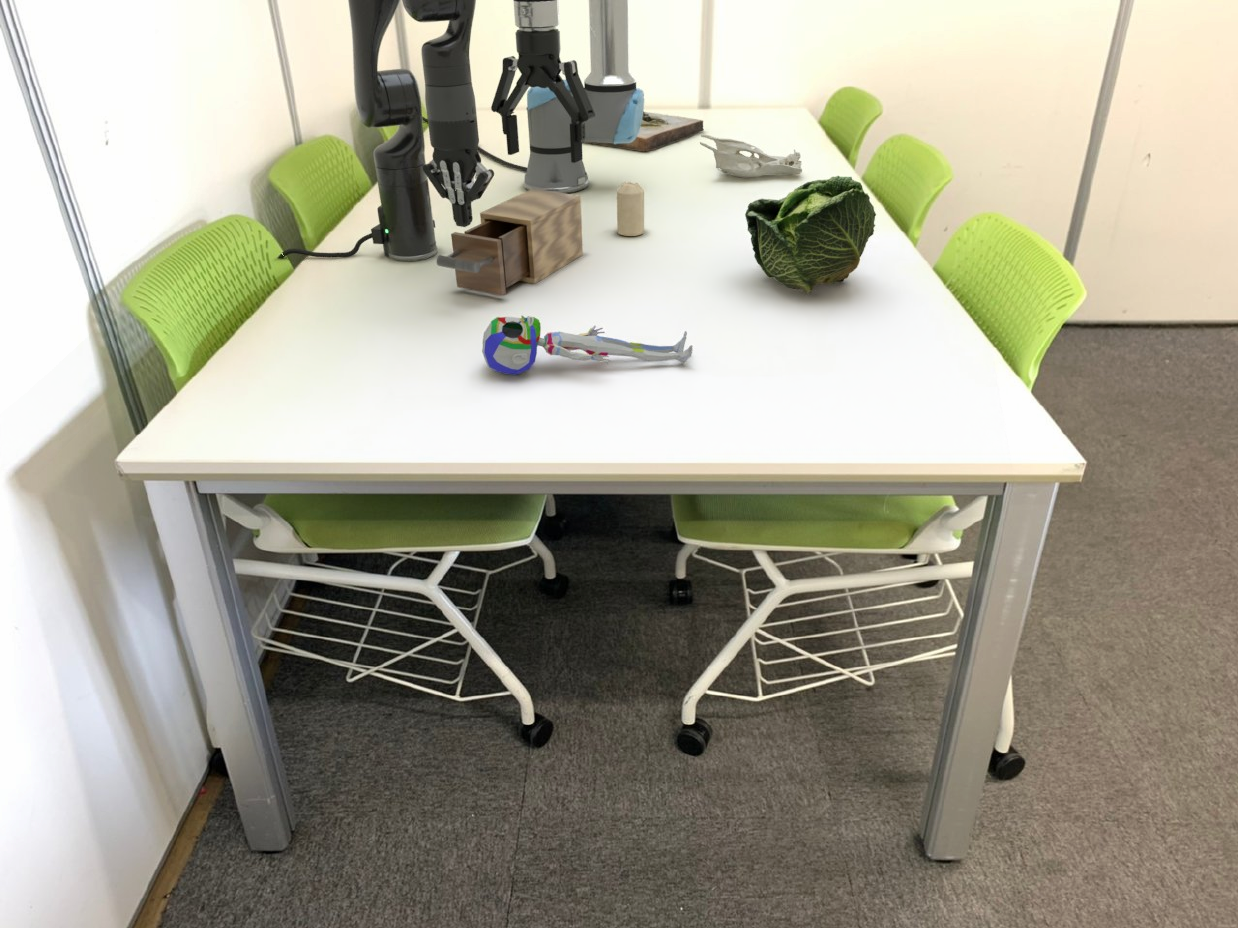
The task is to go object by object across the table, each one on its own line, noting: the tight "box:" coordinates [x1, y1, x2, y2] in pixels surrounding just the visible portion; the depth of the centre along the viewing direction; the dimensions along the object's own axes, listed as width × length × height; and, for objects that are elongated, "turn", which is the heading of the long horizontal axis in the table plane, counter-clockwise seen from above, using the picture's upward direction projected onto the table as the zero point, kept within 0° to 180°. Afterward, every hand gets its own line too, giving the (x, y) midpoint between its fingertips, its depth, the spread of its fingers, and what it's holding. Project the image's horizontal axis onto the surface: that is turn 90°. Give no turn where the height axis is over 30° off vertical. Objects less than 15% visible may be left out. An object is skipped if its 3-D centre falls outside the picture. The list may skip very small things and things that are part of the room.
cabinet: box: [479, 189, 584, 285], centre depth 166 cm, size 17×11×11 cm, turn 152°
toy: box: [481, 315, 694, 376], centre depth 131 cm, size 10×8×30 cm
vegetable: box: [744, 175, 877, 294], centre depth 154 cm, size 20×19×20 cm
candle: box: [616, 181, 645, 237], centre depth 181 cm, size 6×6×10 cm
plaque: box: [584, 110, 705, 152], centre depth 257 cm, size 30×7×30 cm
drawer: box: [436, 219, 530, 297], centre depth 157 cm, size 22×10×10 cm, turn 152°
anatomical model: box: [699, 133, 803, 178], centre depth 218 cm, size 15×9×25 cm
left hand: (463, 225), depth 147 cm, fingers closed
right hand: (544, 157), depth 163 cm, fingers open, 13 cm apart
